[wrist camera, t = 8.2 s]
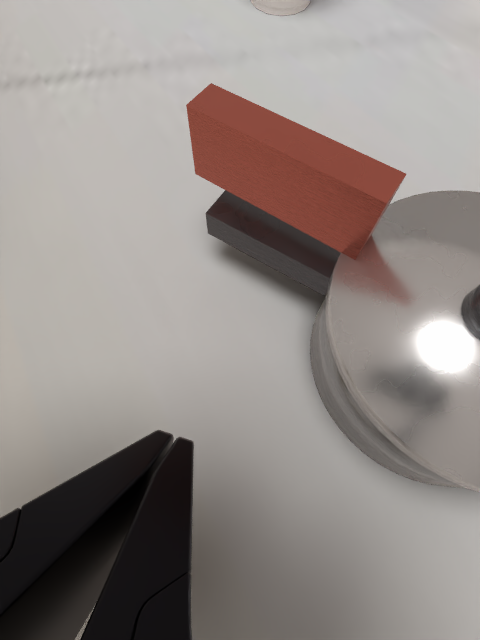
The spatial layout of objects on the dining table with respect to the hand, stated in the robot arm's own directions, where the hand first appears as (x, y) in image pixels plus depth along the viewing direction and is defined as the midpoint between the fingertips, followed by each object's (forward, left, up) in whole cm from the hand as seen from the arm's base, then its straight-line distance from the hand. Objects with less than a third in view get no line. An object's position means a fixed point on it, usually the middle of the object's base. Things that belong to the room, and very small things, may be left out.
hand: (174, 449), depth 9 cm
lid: (+4, -12, -6) cm, 14 cm away
